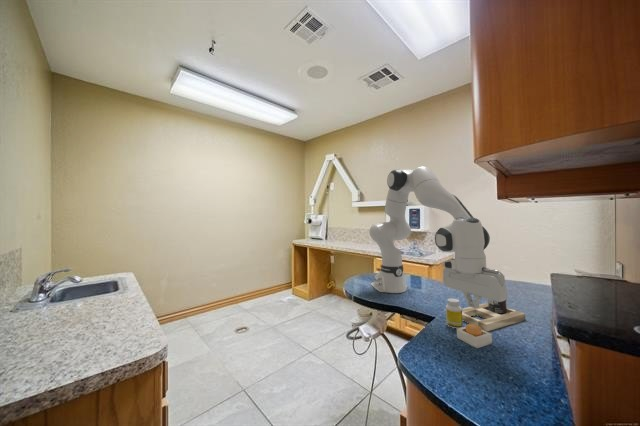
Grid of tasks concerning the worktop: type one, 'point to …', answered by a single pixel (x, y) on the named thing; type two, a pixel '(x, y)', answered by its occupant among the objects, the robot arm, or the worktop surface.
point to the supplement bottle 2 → (497, 307)
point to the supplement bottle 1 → (454, 314)
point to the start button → (473, 330)
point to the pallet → (491, 317)
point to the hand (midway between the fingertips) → (473, 306)
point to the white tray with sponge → (474, 338)
